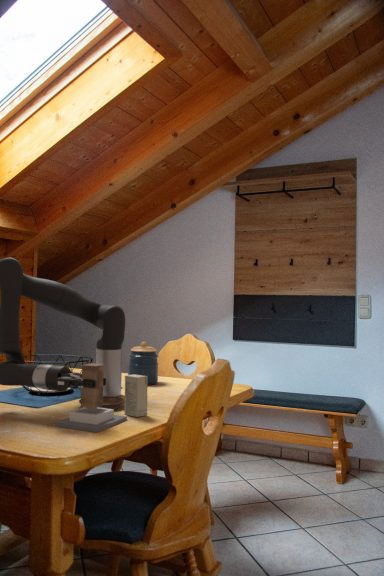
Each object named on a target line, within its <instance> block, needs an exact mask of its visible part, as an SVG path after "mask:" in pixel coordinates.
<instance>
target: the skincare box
mask: <svg viewBox="0 0 384 576" xmlns="http://www.w3.org/2000/svg"><path fill="white" fill-rule="evenodd" d="M124 415H126V416H131V417H135V418H140V417H145V416H148V385H147V376H142V375H135V374H134V375H128V374H127V375H125V376H124Z"/></svg>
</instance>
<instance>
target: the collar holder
mask: <svg viewBox="0 0 384 576" xmlns="http://www.w3.org/2000/svg"><path fill="white" fill-rule="evenodd" d="M114 413H115V410H114V409H106V408H95V409H91V408H84V407H80V408H78V409H75V410H72V411H70V412H69V417H67V418H66V417H65V418H64V419H60V420H58V421H54V424H53V425H54V427H57V428H58V427H59V428H65V429H71V430H77V431H79V430H80V431H85V432H91V433H92V432H93V433H99V432H101V430H102V431H104V430H106V429H108V428H111V427H113V426H117V425H118V424H121V423H124V422H126V421H128V416H127V415H126V416H125V415H119V414H117V415H116V414H114Z"/></svg>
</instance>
